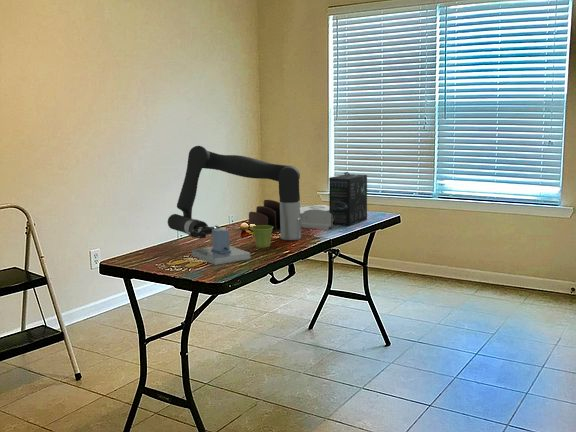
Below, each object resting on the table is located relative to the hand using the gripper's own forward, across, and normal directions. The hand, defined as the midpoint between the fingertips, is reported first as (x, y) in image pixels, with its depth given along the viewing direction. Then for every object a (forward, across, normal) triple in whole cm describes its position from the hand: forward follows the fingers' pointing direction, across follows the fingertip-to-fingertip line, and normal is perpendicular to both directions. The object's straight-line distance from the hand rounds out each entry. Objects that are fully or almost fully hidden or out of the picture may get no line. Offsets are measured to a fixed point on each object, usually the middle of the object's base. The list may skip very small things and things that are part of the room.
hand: (214, 234), depth 261 cm
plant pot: (-1, +24, +9) cm, 26 cm away
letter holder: (-34, +48, +9) cm, 59 cm away
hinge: (-21, +70, +9) cm, 73 cm away
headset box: (-22, +91, +9) cm, 94 cm away
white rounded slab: (-46, +82, +10) cm, 94 cm away
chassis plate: (+5, 0, +9) cm, 10 cm away
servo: (+5, 0, +8) cm, 10 cm away
